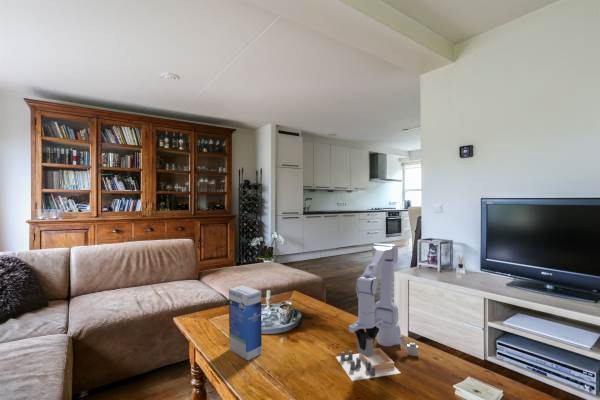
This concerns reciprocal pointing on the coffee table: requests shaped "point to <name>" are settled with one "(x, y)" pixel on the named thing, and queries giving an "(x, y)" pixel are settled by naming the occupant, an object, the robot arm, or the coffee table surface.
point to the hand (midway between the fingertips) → (366, 347)
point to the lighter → (409, 347)
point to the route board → (363, 366)
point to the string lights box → (245, 322)
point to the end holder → (379, 366)
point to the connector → (367, 347)
